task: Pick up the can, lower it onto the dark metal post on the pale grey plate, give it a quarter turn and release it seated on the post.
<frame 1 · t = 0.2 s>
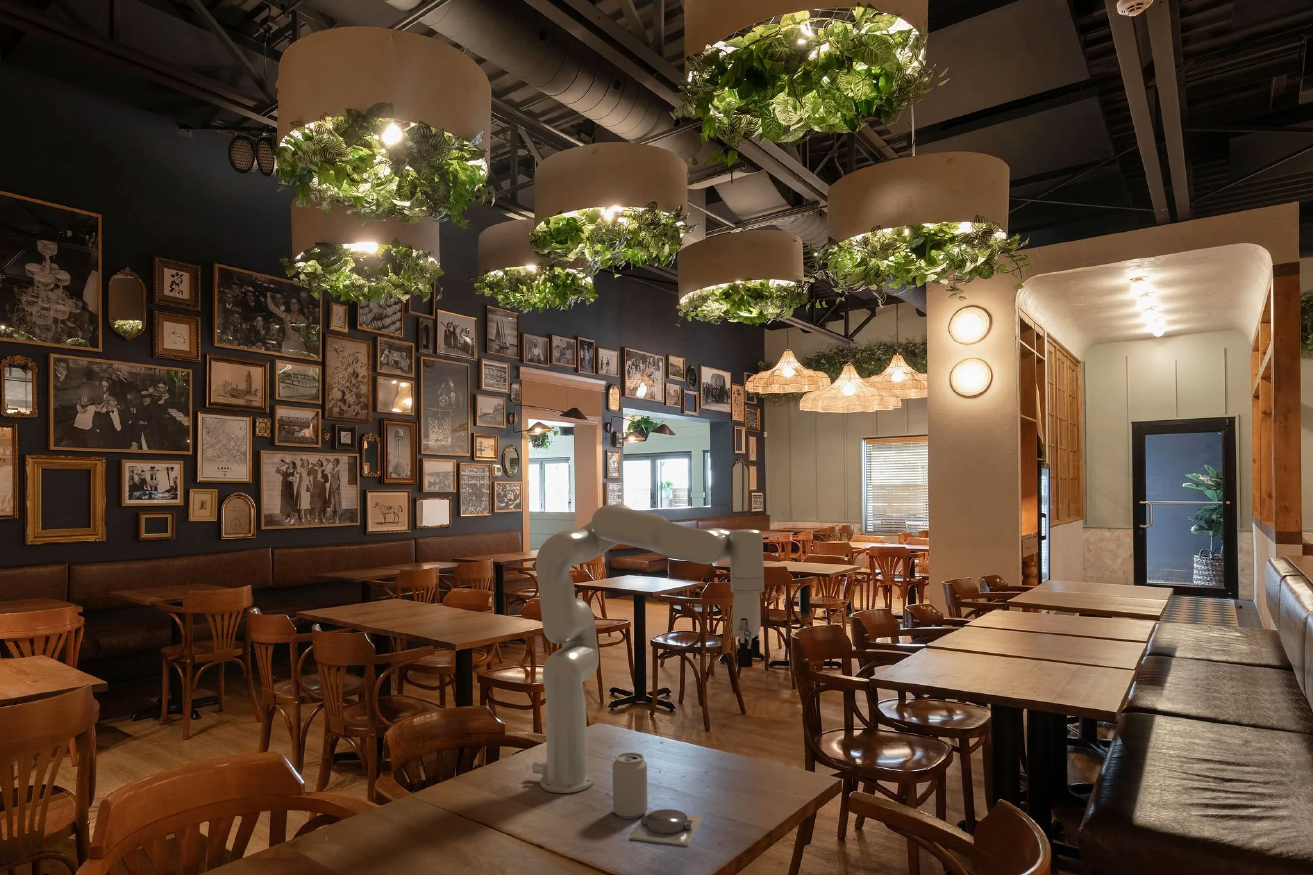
hand: (749, 661, 176), 31 cm above the table, tool pointing down, fingers open, 9 cm apart
can: (630, 813, 170), on the table
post: (667, 829, 162), on the table
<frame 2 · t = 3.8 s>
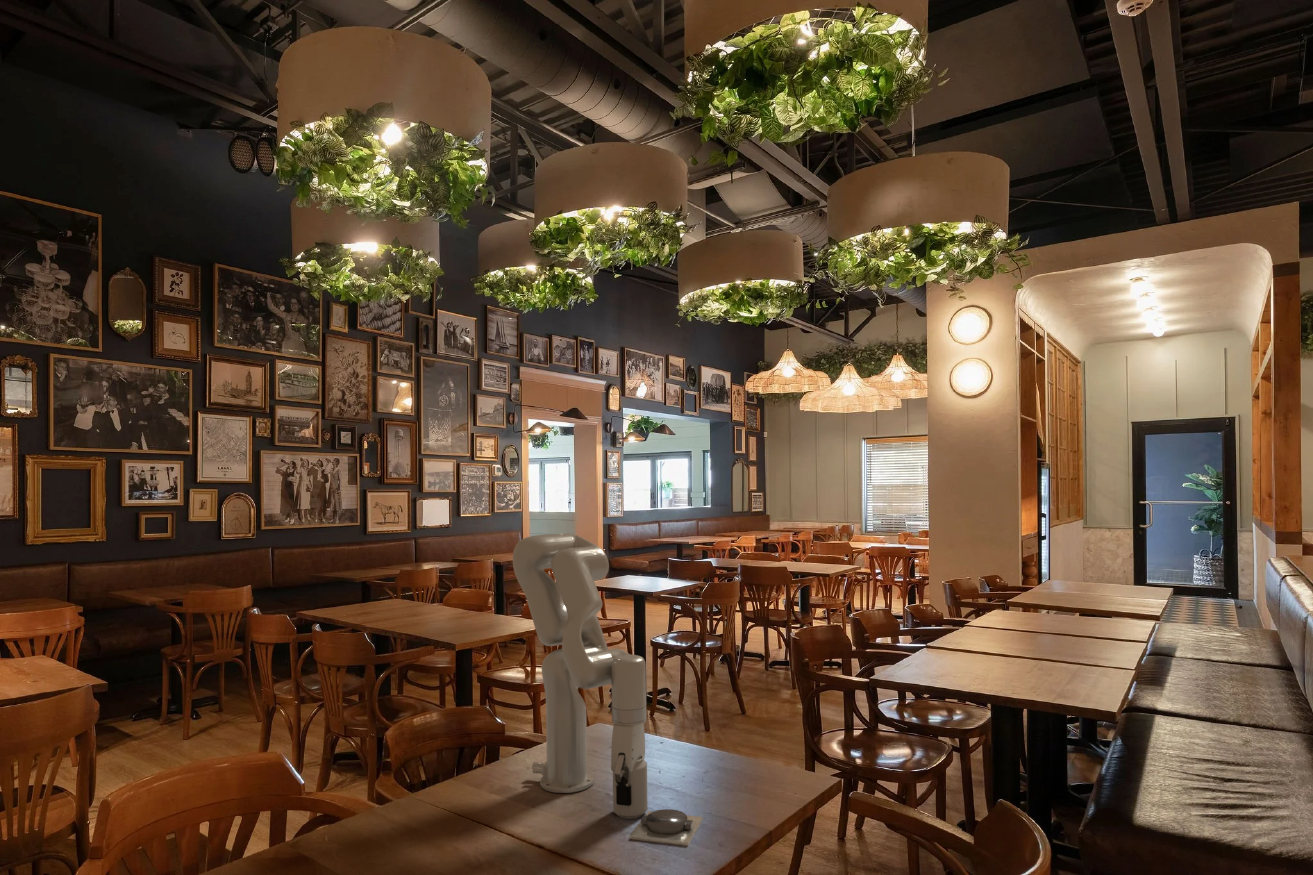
hand: (630, 796, 170), 3 cm above the table, tool pointing down, fingers closed on can, 7 cm apart
can: (630, 813, 170), on the table, touching gripper
when the fingers open (6 cm above the table, at t = 9.5 s): can stays where it is, resting on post.
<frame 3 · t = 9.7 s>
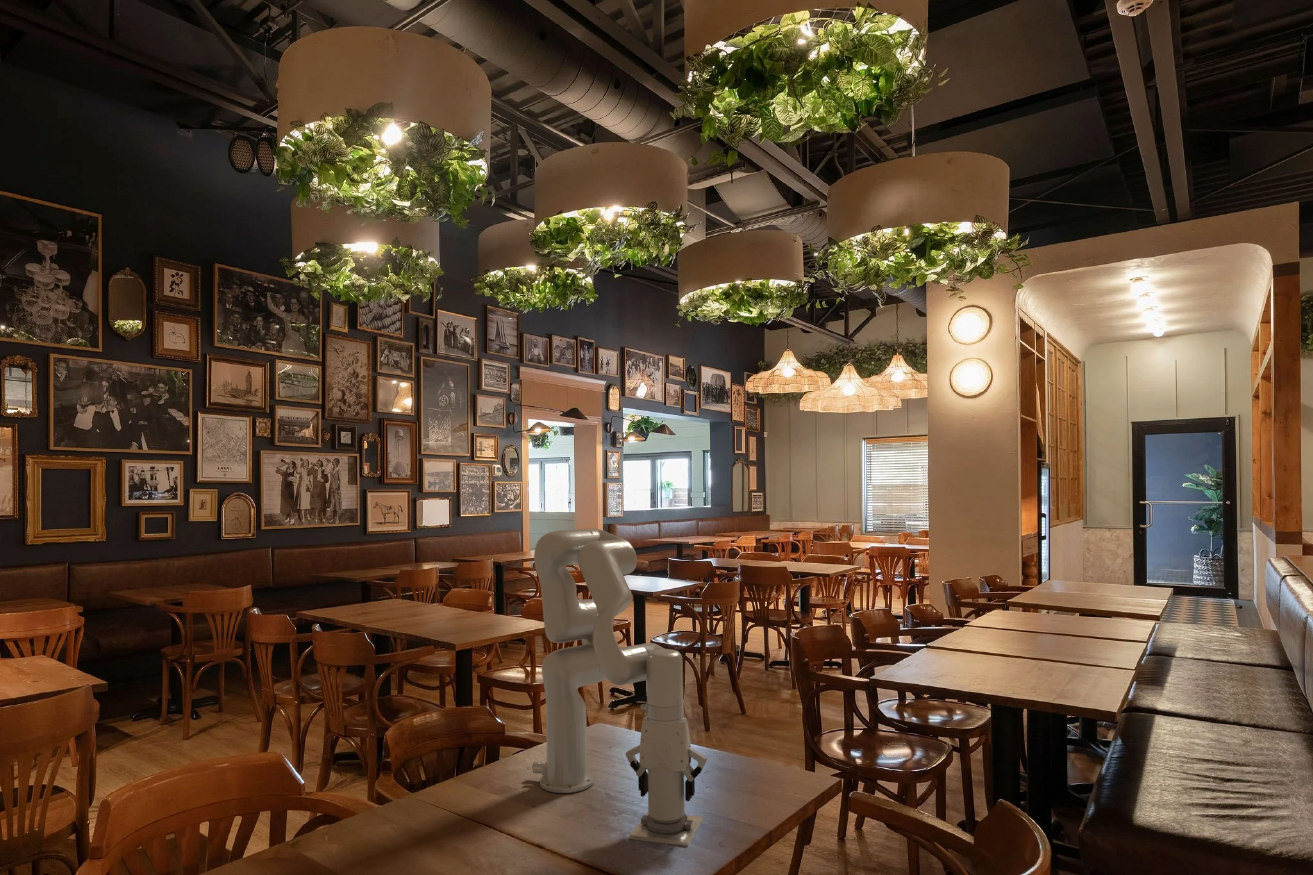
hand: (666, 796, 162), 7 cm above the table, tool pointing down, fingers open, 9 cm apart
can: (666, 818, 162), point 2 cm above the table, touching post
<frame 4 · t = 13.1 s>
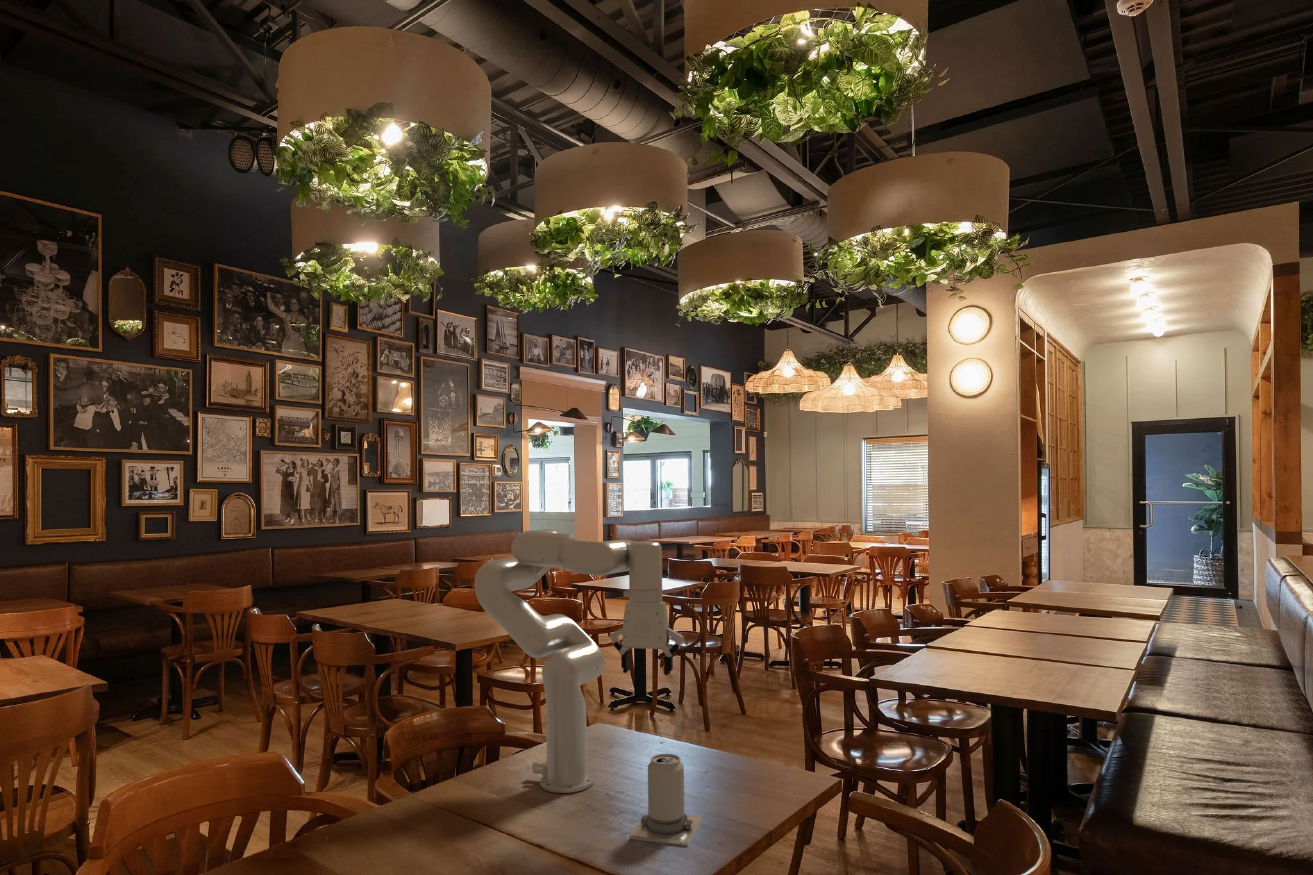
hand: (647, 672, 178), 28 cm above the table, tool pointing down, fingers open, 9 cm apart
nothing on the table moved.
at the end: can 0.2 cm off-centre on the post, point 2.2 cm above the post's base; can tilted 0°; the gripper is holding nothing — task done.
